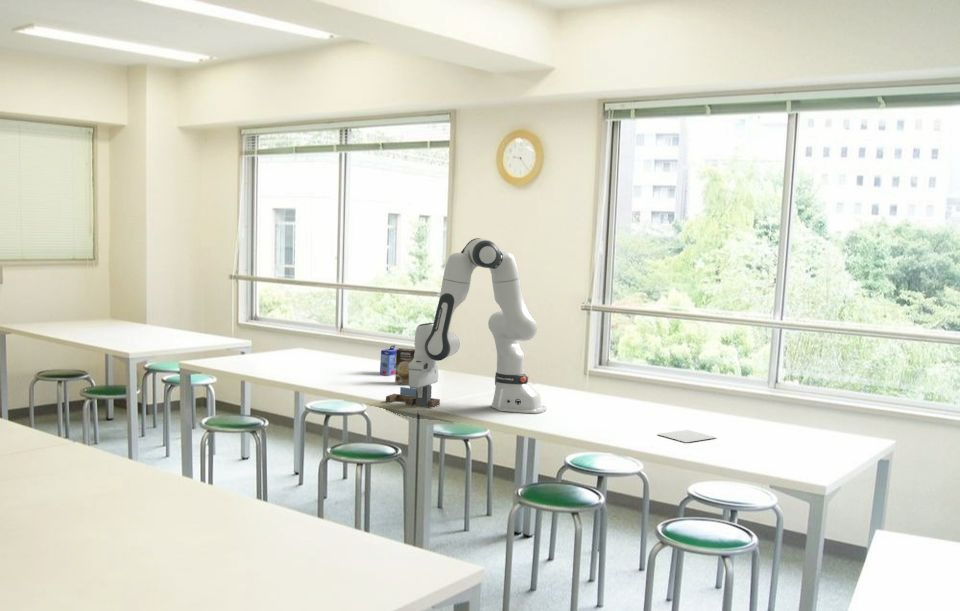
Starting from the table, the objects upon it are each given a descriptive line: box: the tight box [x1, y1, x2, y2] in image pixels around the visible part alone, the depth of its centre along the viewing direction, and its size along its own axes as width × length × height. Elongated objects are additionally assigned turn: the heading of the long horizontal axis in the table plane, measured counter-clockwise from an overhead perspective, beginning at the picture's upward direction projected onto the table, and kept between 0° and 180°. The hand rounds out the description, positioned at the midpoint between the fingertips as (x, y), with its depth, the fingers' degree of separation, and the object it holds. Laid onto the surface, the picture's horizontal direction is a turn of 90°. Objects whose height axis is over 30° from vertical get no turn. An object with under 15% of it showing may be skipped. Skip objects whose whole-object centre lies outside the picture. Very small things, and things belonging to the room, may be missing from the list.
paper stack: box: [657, 429, 718, 443], centre depth 306 cm, size 23×25×1 cm
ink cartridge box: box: [379, 344, 398, 377], centre depth 424 cm, size 10×6×14 cm, turn 153°
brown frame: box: [385, 386, 441, 408], centre depth 353 cm, size 21×10×5 cm, turn 68°
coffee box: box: [394, 348, 415, 386], centre depth 398 cm, size 9×6×16 cm
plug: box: [414, 385, 433, 407], centre depth 349 cm, size 5×4×8 cm
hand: (423, 396), depth 349 cm, fingers closed on plug, 4 cm apart
